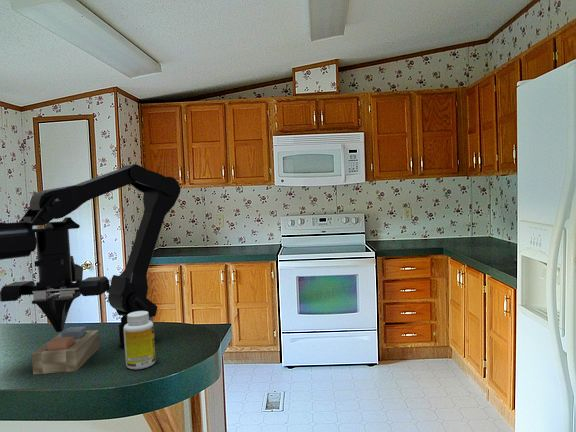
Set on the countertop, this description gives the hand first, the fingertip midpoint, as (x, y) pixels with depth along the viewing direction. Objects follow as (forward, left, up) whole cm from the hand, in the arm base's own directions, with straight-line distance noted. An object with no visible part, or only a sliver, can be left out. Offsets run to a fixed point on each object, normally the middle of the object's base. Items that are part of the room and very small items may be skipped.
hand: (59, 331), depth 86 cm
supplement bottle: (-16, +3, -7) cm, 18 cm away
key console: (0, -3, -7) cm, 8 cm away
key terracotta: (0, 0, -4) cm, 4 cm away
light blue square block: (0, -6, -4) cm, 8 cm away
